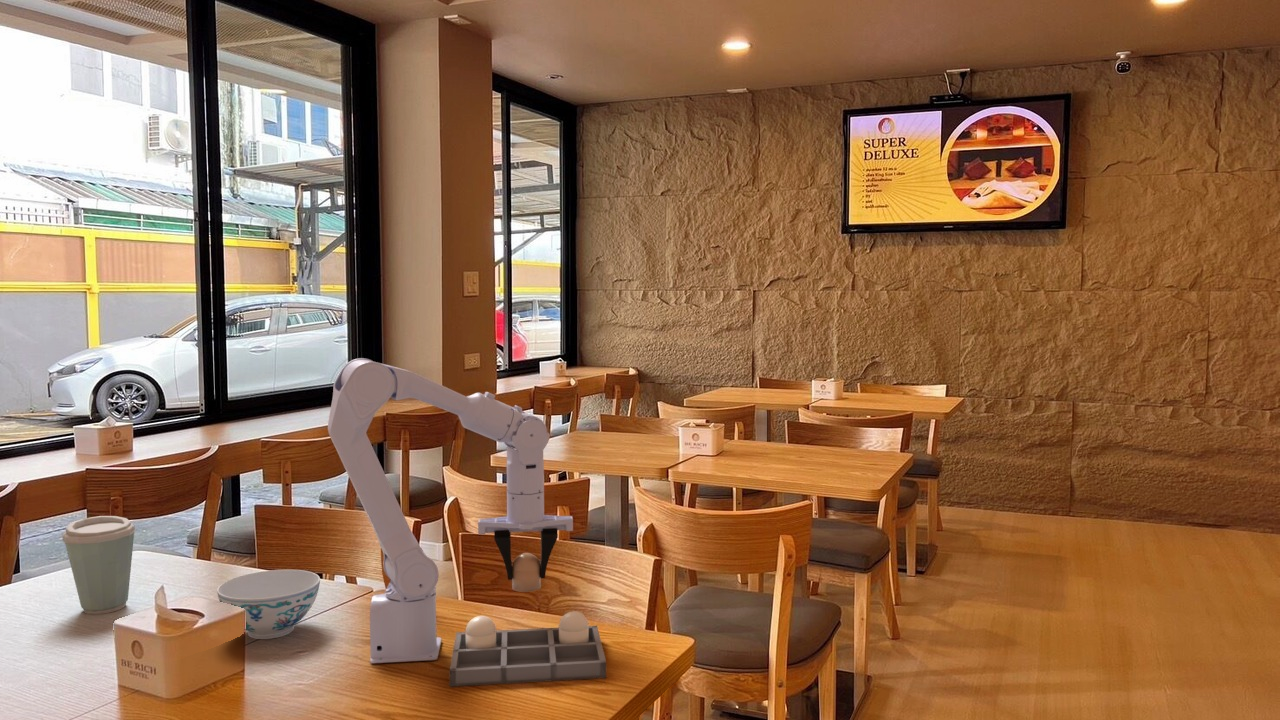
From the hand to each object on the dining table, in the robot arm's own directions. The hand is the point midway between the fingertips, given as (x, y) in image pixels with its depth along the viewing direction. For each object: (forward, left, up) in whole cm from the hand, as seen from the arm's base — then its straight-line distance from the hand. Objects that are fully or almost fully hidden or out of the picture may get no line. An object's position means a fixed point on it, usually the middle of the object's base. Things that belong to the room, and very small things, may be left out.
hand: (526, 577), depth 144 cm
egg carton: (0, -12, -9) cm, 15 cm away
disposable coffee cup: (-71, +21, -9) cm, 75 cm away
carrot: (-22, +16, -9) cm, 29 cm away
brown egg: (0, 0, -2) cm, 2 cm away
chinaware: (-40, +6, -9) cm, 41 cm away
